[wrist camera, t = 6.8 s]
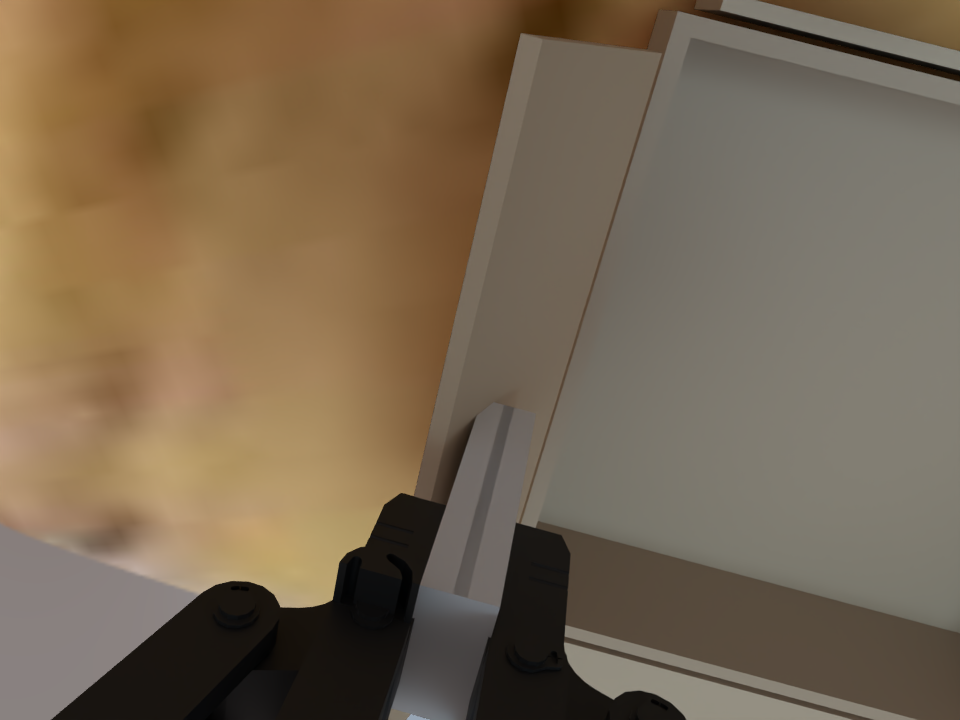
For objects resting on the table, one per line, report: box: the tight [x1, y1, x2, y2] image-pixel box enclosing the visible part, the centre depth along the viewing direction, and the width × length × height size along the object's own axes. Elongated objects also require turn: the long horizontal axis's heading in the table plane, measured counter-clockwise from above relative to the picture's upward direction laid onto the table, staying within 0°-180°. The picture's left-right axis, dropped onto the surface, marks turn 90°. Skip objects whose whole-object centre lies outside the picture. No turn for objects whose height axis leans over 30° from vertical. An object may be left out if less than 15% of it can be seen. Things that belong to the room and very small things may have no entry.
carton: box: [519, 0, 960, 720], centre depth 27 cm, size 26×26×6 cm
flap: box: [388, 33, 662, 720], centre depth 20 cm, size 18×8×1 cm
